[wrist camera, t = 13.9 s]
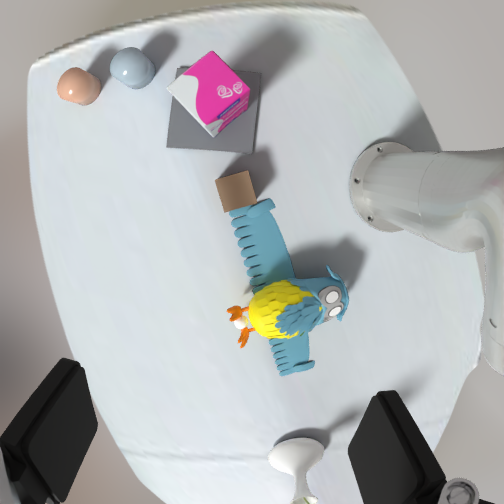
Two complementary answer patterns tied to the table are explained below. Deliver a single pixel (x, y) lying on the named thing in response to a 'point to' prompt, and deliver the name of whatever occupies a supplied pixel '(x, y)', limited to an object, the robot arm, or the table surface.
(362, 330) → the table surface
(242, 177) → the walnut block
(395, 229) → the robot arm
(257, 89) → the coaster
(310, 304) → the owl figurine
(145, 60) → the pale blue dome knob
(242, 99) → the supplement box
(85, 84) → the peach dome cap
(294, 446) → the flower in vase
